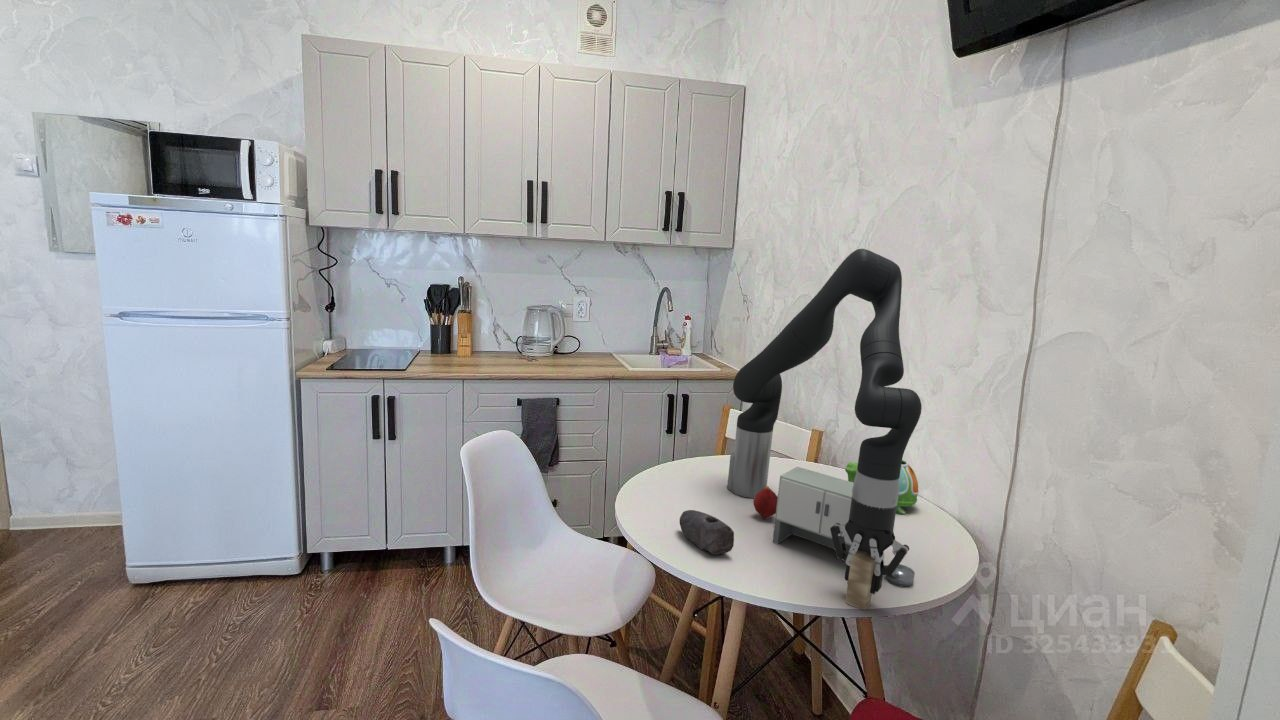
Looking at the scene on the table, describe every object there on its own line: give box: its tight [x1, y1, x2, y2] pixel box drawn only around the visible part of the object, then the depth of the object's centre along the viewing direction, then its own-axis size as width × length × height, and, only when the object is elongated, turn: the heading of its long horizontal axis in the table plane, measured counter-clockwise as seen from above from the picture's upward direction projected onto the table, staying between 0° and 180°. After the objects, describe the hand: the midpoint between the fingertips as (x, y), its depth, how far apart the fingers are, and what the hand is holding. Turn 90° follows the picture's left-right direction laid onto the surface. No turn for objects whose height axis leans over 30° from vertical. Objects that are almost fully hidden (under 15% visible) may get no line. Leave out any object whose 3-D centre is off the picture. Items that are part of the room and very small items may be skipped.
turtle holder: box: [844, 459, 920, 515], centre depth 159 cm, size 12×18×12 cm
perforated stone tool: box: [679, 509, 735, 556], centre depth 129 cm, size 15×5×7 cm, turn 33°
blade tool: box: [844, 551, 885, 611], centre depth 115 cm, size 4×15×9 cm, turn 142°
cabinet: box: [772, 466, 854, 552], centre depth 129 cm, size 20×9×15 cm, turn 52°
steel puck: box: [885, 563, 916, 589], centre depth 120 cm, size 5×5×2 cm
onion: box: [753, 485, 778, 520], centre depth 144 cm, size 6×6×8 cm
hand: (861, 587), depth 112 cm, fingers closed on blade tool, 3 cm apart
